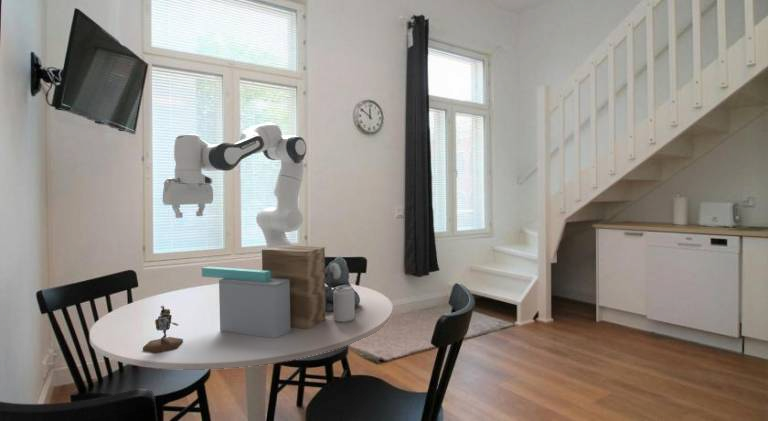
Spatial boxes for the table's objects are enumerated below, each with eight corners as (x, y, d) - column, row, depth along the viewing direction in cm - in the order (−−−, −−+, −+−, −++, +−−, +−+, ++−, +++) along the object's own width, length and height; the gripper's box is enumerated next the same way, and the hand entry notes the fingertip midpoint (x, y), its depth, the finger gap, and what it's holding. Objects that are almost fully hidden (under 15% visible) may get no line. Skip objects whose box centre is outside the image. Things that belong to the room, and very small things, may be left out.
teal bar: (208, 274, 145) (208, 266, 145) (270, 279, 136) (270, 270, 136) (201, 276, 143) (201, 267, 142) (265, 281, 134) (265, 272, 133)
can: (345, 315, 154) (345, 283, 153) (358, 319, 148) (358, 286, 148) (329, 320, 148) (329, 286, 148) (342, 324, 143) (342, 290, 143)
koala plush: (321, 300, 175) (320, 254, 175) (363, 301, 174) (363, 255, 173) (310, 312, 158) (309, 261, 157) (356, 313, 156) (356, 262, 155)
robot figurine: (173, 352, 119) (172, 311, 119) (138, 354, 118) (137, 312, 117) (185, 339, 130) (184, 301, 129) (153, 340, 129) (152, 302, 128)
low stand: (236, 323, 145) (235, 275, 144) (290, 330, 138) (289, 279, 137) (220, 330, 138) (218, 279, 137) (276, 338, 130) (275, 284, 129)
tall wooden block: (283, 314, 156) (281, 245, 155) (325, 318, 150) (324, 247, 149) (263, 323, 145) (261, 249, 144) (308, 329, 139) (307, 251, 137)
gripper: (171, 177, 139) (172, 218, 140) (215, 179, 158) (216, 215, 159) (157, 178, 141) (158, 218, 142) (202, 179, 160) (203, 215, 161)
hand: (189, 217), depth 151 cm, fingers open, 8 cm apart
